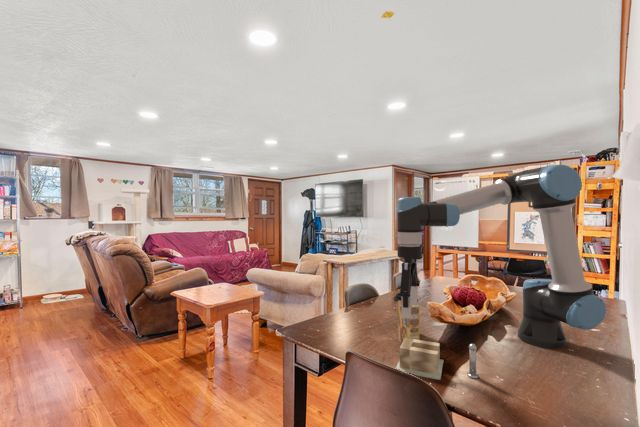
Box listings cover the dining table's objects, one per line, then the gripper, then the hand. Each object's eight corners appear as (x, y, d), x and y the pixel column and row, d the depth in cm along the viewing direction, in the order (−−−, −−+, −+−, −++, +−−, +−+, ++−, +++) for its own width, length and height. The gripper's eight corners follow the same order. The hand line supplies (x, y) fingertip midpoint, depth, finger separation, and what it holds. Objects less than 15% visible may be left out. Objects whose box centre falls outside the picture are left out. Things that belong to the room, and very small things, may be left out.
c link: (399, 367, 98) (399, 347, 98) (404, 355, 106) (404, 337, 106) (437, 374, 93) (437, 354, 93) (439, 361, 101) (439, 343, 101)
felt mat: (443, 361, 102) (443, 359, 102) (440, 380, 91) (440, 378, 91) (402, 353, 108) (402, 352, 108) (395, 370, 96) (395, 369, 96)
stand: (478, 374, 94) (478, 343, 94) (478, 379, 91) (478, 346, 91) (467, 372, 95) (467, 341, 95) (467, 377, 92) (467, 345, 92)
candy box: (420, 349, 112) (420, 306, 112) (409, 350, 111) (409, 306, 111) (407, 339, 120) (407, 299, 120) (397, 340, 119) (397, 300, 119)
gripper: (404, 241, 114) (404, 300, 114) (389, 248, 91) (389, 321, 91) (426, 242, 111) (426, 302, 111) (415, 249, 88) (416, 325, 88)
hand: (409, 311), depth 101 cm, fingers open, 13 cm apart
